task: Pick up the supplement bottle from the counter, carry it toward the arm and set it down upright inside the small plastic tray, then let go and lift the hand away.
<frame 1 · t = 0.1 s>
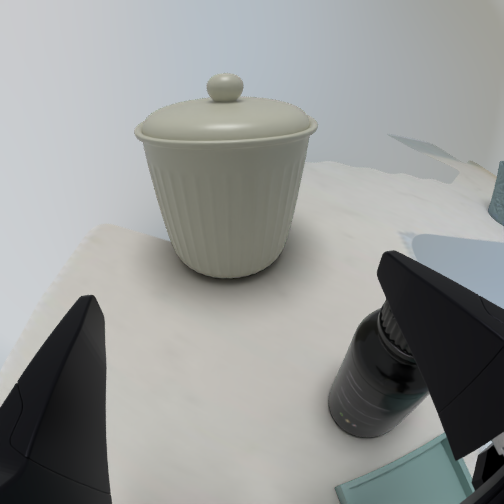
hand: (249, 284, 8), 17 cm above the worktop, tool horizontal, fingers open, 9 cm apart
grey cup: (502, 218, 48), on the worktop
canister: (229, 251, 37), on the worktop
supplement bottle: (364, 404, 21), on the worktop
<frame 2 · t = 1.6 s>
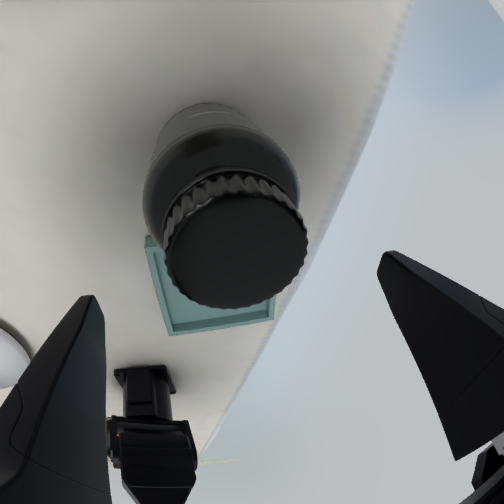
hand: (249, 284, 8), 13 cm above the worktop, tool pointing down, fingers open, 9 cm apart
tray: (215, 278, 25), on the worktop
flower in vase: (0, 341, 24), on the worktop
supplement bottle: (205, 150, 19), on the worktop
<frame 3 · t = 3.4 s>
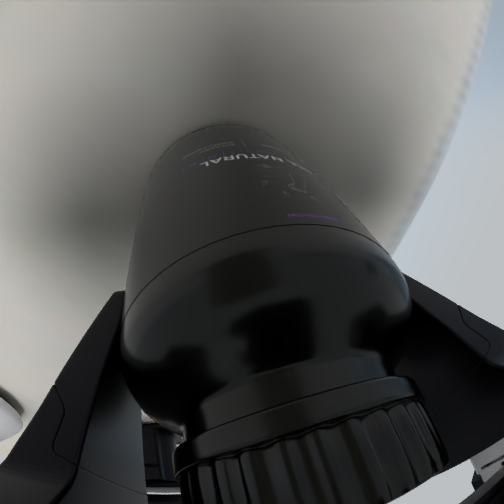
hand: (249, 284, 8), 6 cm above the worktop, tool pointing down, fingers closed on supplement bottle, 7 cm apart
supplement bottle: (221, 195, 13), on the worktop, touching gripper
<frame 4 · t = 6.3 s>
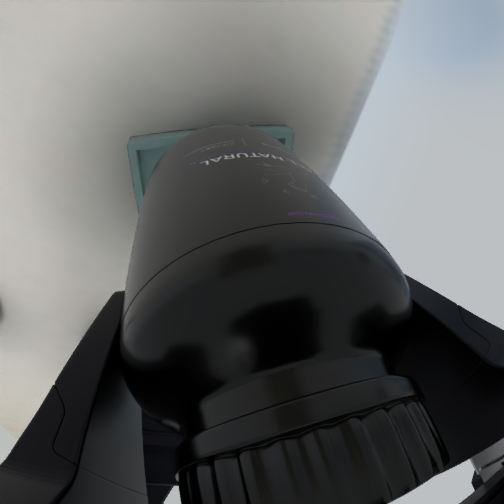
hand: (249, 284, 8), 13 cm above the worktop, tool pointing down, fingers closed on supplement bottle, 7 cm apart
tray: (212, 197, 20), on the worktop
supplement bottle: (222, 195, 13), point 7 cm above the worktop, touching gripper
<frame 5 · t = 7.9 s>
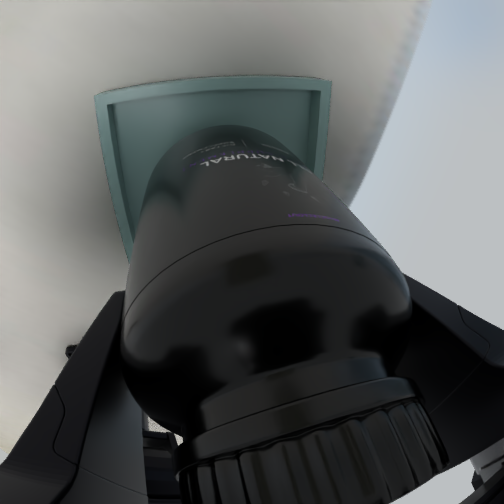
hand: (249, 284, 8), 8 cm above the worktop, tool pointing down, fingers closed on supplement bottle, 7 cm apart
tray: (216, 176, 14), on the worktop
supplement bottle: (222, 195, 13), point 2 cm above the worktop, touching gripper
when the fingers open (7 cm above the worktop, at t = 9.2 s): supplement bottle drops 1 cm, resting on tray.
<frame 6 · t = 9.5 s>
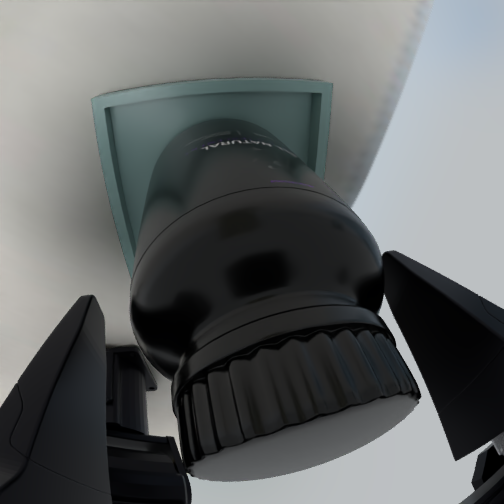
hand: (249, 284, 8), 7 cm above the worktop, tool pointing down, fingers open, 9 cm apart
tray: (215, 180, 14), on the worktop
supplement bottle: (219, 183, 14), resting on tray
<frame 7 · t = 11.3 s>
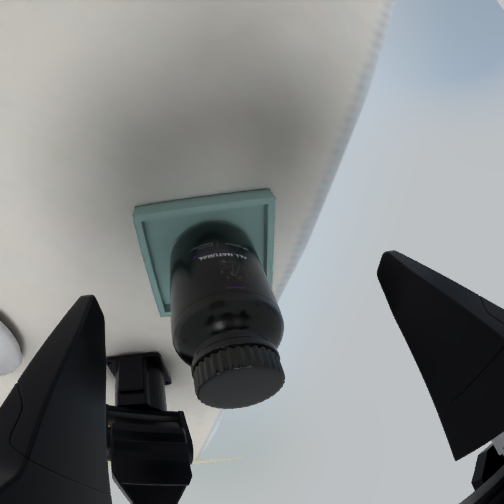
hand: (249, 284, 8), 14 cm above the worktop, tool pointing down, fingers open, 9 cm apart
tray: (208, 252, 24), on the worktop
supplement bottle: (210, 255, 24), resting on tray
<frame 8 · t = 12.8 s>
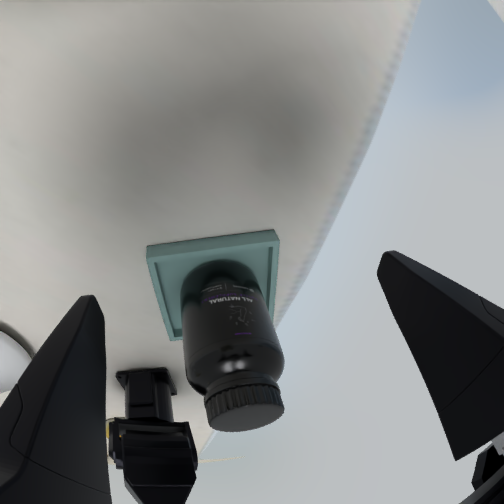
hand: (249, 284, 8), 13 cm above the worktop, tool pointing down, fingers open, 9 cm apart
tray: (215, 285, 26), on the worktop
flower in vase: (4, 345, 25), on the worktop
supplement bottle: (217, 288, 26), resting on tray
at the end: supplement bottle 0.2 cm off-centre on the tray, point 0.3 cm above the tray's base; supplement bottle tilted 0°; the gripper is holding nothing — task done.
